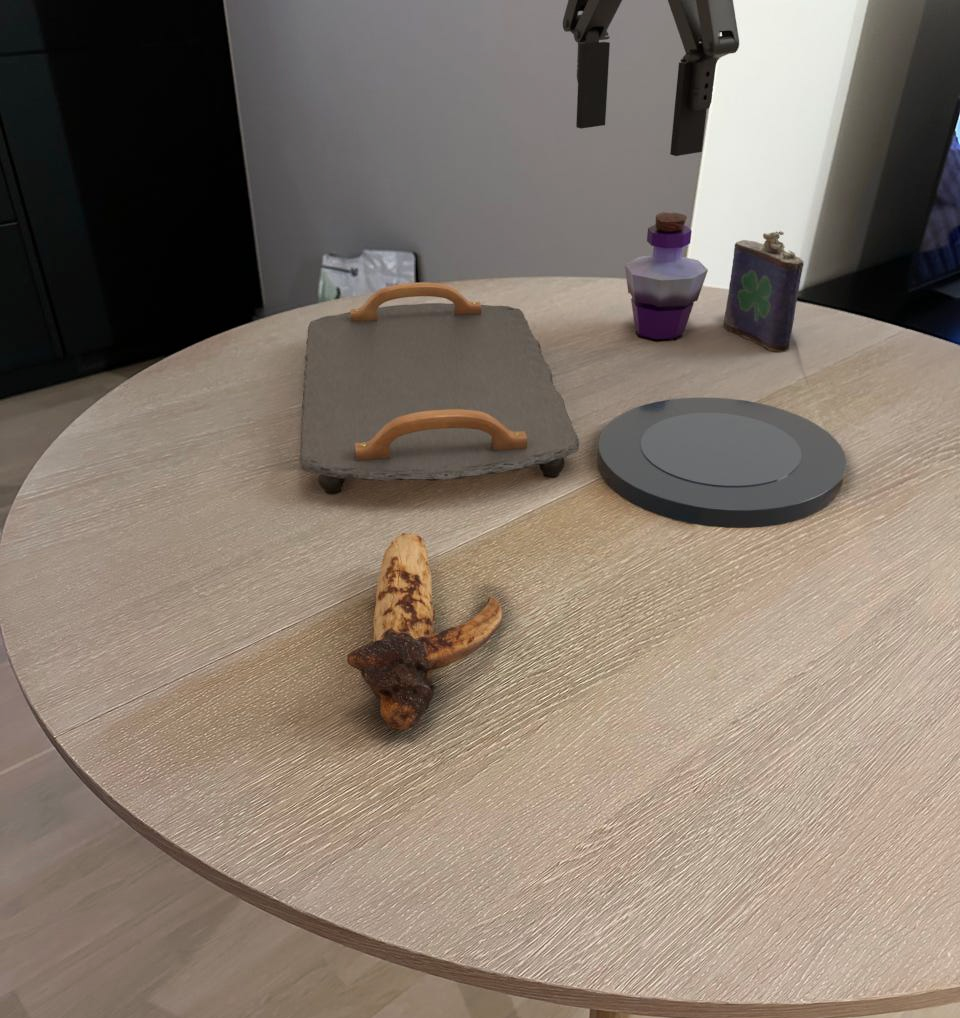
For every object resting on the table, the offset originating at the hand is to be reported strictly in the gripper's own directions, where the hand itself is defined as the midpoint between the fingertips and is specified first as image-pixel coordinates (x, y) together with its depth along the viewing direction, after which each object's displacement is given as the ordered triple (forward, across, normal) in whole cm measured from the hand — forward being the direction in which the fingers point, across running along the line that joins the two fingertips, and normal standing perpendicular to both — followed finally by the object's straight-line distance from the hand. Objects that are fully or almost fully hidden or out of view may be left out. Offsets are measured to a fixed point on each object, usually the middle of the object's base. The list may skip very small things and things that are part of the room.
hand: (635, 139), depth 84 cm
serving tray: (+21, -3, -20) cm, 29 cm away
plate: (+21, +21, -5) cm, 30 cm away
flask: (+21, +1, +18) cm, 27 cm away
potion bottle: (+21, -6, +10) cm, 24 cm away
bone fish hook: (+21, +30, -37) cm, 52 cm away
